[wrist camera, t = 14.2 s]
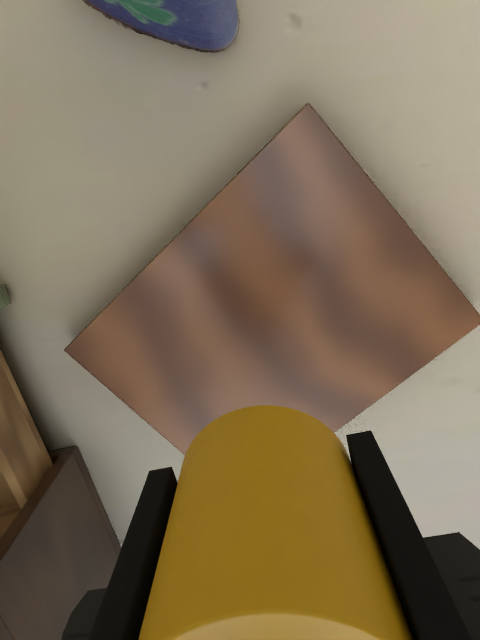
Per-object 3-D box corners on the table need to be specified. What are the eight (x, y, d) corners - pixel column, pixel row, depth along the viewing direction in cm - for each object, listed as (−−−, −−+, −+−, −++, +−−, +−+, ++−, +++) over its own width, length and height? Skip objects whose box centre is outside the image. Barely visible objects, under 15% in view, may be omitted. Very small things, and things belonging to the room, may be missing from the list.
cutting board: (304, 107, 22) (308, 101, 20) (472, 313, 25) (485, 321, 24) (73, 341, 27) (63, 350, 25) (240, 488, 30) (239, 503, 29)
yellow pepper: (272, 370, 12) (303, 661, 5) (386, 483, 13) (555, 860, 6) (147, 473, 13) (17, 827, 6) (260, 568, 15) (269, 962, 7)
